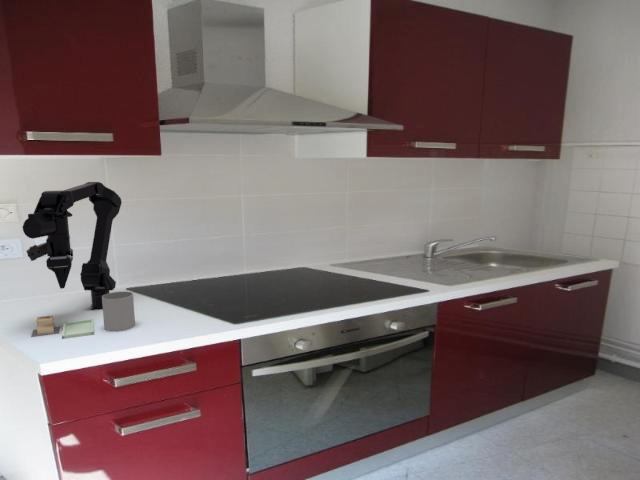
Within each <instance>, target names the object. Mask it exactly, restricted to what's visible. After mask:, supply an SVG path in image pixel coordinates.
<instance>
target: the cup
mask: <svg viewBox="0 0 640 480" xmlns="http://www.w3.org/2000/svg"><path fill="white" fill-rule="evenodd" d="M134 303H135V301H134V293H133V292H132V291H113V292H110V293H108V294H105V295H103V296H102V305H103V309H102V317H103V327H104V331H107V332H110V333H111V332H112V333H113V332H123V331H128V330H132V329H133V328H135V326H136V315H135V304H134Z"/></svg>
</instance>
